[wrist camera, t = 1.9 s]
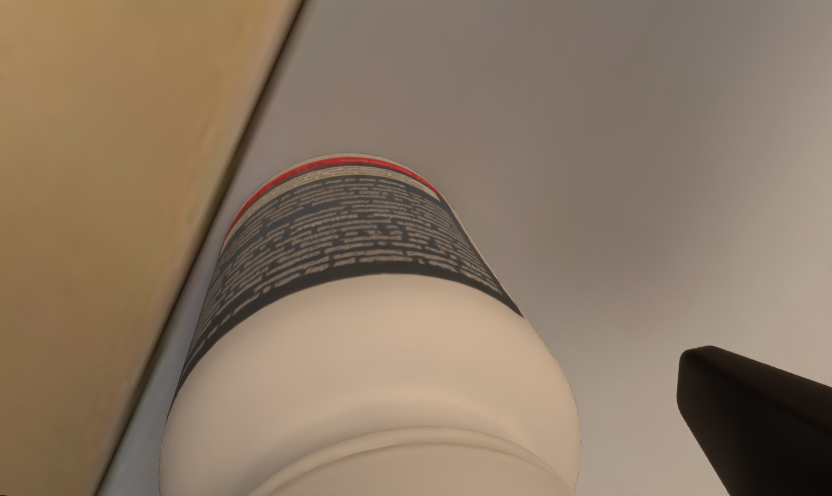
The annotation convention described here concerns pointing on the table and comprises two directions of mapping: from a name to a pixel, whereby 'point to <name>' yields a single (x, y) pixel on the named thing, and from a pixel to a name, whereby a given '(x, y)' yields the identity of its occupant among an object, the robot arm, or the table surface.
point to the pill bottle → (363, 353)
